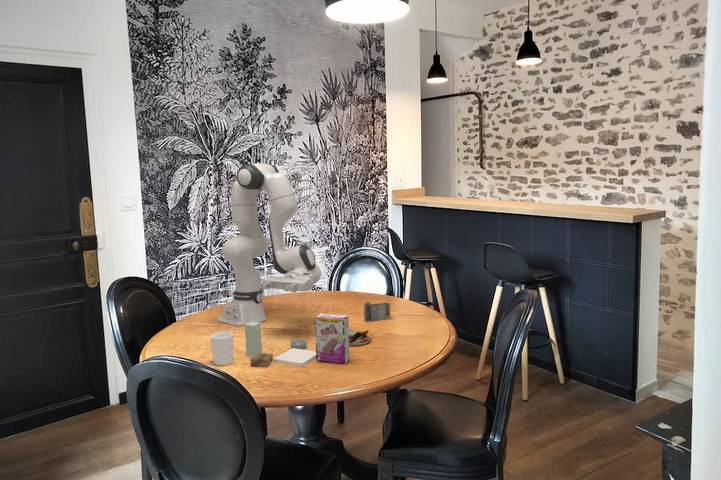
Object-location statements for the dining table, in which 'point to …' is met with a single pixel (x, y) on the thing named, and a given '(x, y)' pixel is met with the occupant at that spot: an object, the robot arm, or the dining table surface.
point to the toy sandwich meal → (358, 337)
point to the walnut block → (261, 360)
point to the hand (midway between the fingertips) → (275, 288)
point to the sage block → (253, 338)
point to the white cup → (222, 348)
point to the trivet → (296, 357)
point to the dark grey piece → (376, 311)
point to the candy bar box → (332, 338)
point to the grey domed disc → (299, 344)
